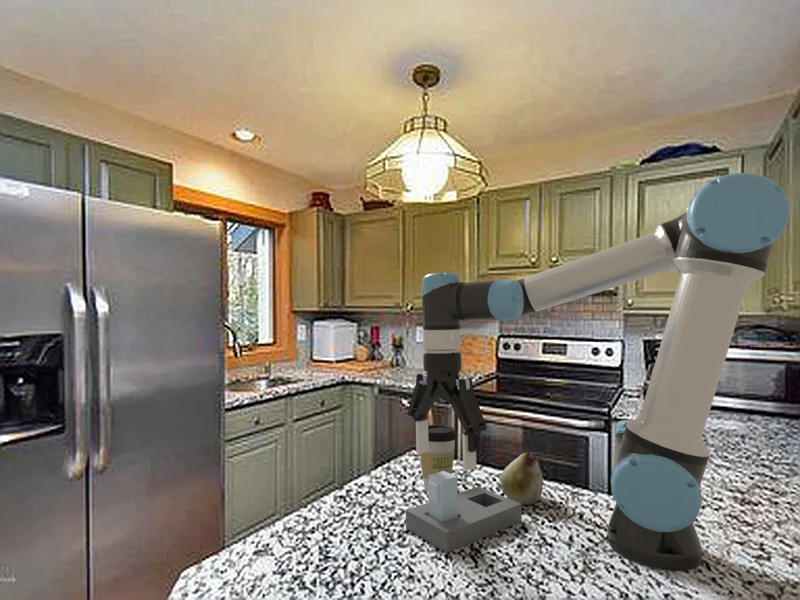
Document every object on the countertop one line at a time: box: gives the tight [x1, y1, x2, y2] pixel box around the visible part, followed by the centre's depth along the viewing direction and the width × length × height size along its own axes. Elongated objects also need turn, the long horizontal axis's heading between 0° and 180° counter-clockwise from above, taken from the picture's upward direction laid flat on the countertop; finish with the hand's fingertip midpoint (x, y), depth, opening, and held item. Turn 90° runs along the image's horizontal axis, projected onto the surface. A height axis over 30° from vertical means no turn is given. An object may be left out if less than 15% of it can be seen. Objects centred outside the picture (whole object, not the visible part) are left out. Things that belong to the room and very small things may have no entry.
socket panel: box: [405, 486, 523, 554], centre depth 92 cm, size 12×21×4 cm, turn 127°
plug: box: [427, 471, 459, 523], centre depth 88 cm, size 4×5×11 cm
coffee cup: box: [419, 424, 458, 492], centre depth 111 cm, size 10×10×15 cm
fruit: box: [500, 451, 544, 506], centre depth 104 cm, size 10×9×12 cm
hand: (444, 460), depth 88 cm, fingers open, 13 cm apart
